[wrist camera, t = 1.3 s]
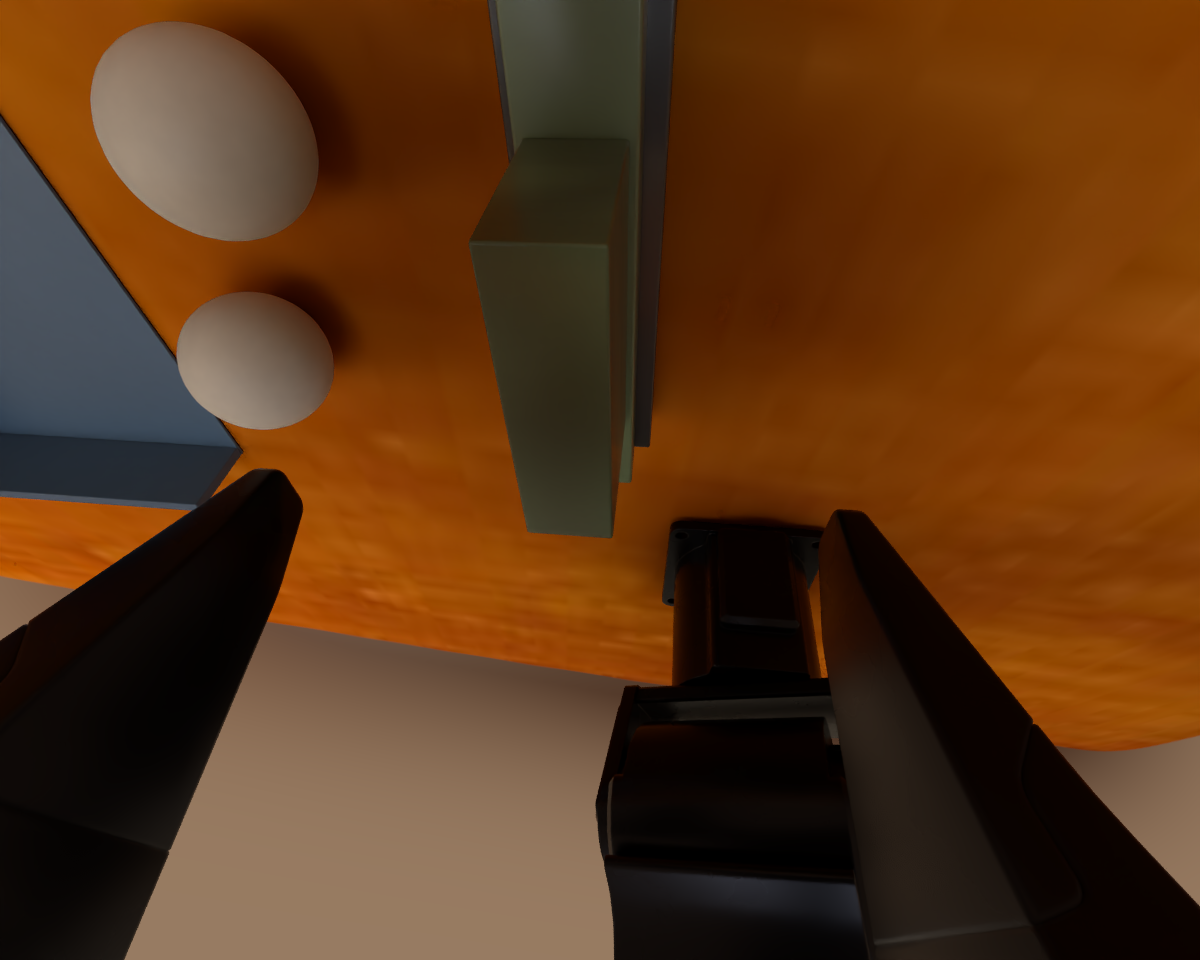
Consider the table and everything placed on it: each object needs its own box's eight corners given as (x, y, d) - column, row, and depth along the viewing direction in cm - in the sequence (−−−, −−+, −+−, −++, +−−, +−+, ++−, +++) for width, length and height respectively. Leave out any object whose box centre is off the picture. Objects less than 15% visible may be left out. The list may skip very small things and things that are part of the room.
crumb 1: (369, 197, 15) (301, 278, 12) (225, 194, 15) (130, 272, 13) (305, 0, 12) (197, 51, 9) (128, 2, 12) (-24, 52, 10)
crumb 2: (371, 375, 20) (322, 461, 17) (261, 370, 20) (197, 453, 17) (326, 267, 17) (258, 350, 14) (197, 262, 17) (108, 343, 14)
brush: (682, -90, 10) (676, -15, 6) (651, 416, 20) (639, 600, 15) (498, -85, 11) (350, -11, 6) (554, 411, 20) (513, 589, 15)
